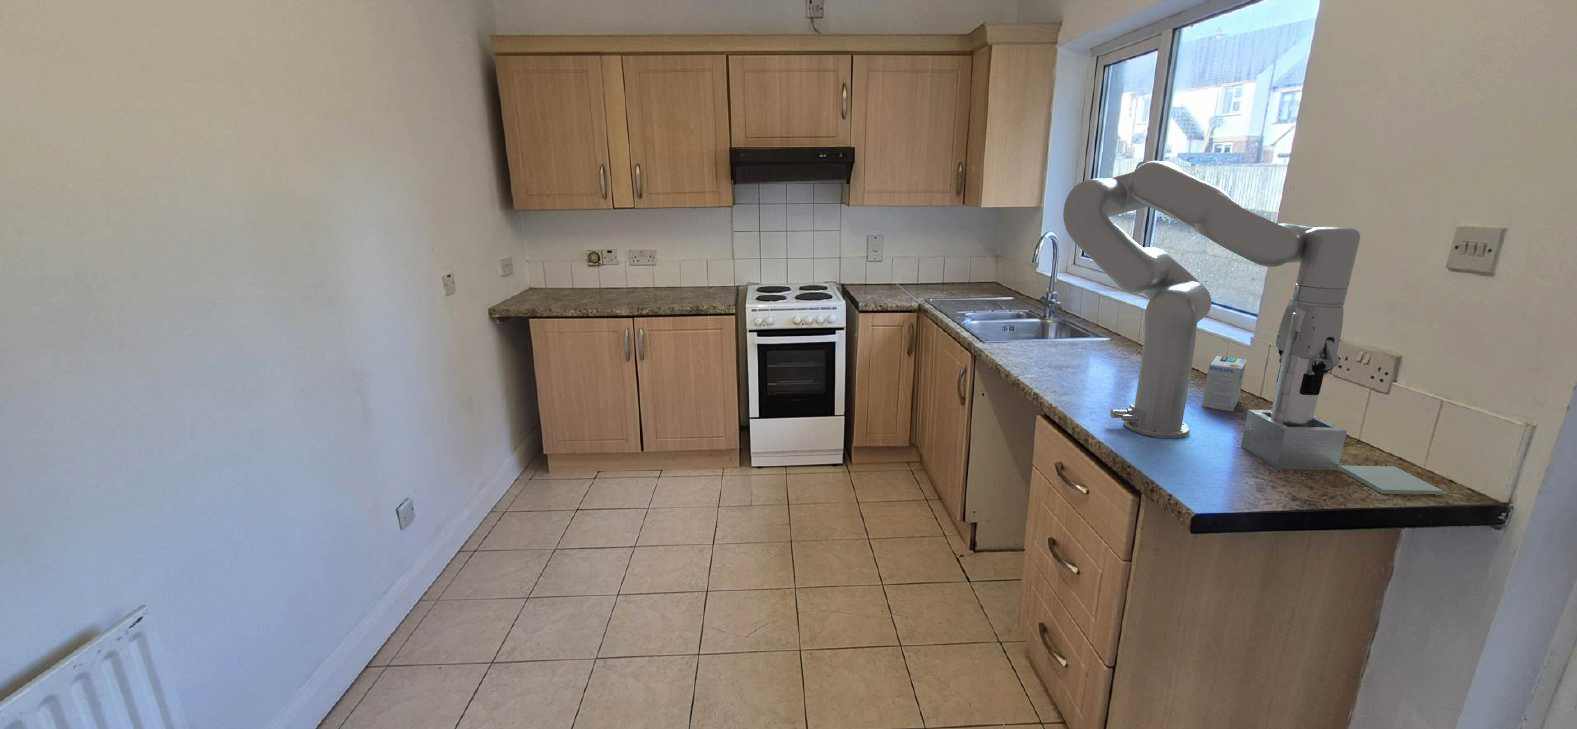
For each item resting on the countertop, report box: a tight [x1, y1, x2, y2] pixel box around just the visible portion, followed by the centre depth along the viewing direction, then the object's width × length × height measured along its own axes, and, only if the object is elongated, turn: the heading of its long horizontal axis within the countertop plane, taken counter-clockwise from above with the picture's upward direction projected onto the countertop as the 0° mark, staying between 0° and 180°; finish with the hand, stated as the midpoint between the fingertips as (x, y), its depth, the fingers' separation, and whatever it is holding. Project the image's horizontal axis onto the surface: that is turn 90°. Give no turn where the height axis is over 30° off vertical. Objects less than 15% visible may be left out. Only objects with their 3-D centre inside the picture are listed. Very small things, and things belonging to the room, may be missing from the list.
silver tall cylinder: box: [1270, 308, 1324, 427], centre depth 123 cm, size 6×6×25 cm
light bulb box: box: [1201, 355, 1248, 413], centre depth 158 cm, size 11×7×11 cm, turn 141°
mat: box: [1337, 464, 1444, 496], centre depth 118 cm, size 10×10×1 cm
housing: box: [1240, 409, 1348, 471], centre depth 127 cm, size 11×11×8 cm
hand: (1297, 388), depth 124 cm, fingers closed on silver tall cylinder, 5 cm apart
